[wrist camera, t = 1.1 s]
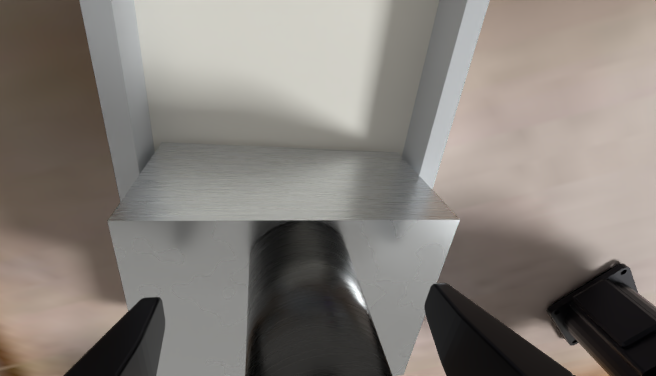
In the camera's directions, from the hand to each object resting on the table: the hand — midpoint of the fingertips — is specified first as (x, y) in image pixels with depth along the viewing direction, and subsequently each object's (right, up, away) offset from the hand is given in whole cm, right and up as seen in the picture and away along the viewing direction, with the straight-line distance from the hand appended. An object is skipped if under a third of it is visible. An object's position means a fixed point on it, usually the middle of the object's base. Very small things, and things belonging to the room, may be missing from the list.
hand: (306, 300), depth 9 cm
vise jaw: (-2, +1, +7) cm, 7 cm away
